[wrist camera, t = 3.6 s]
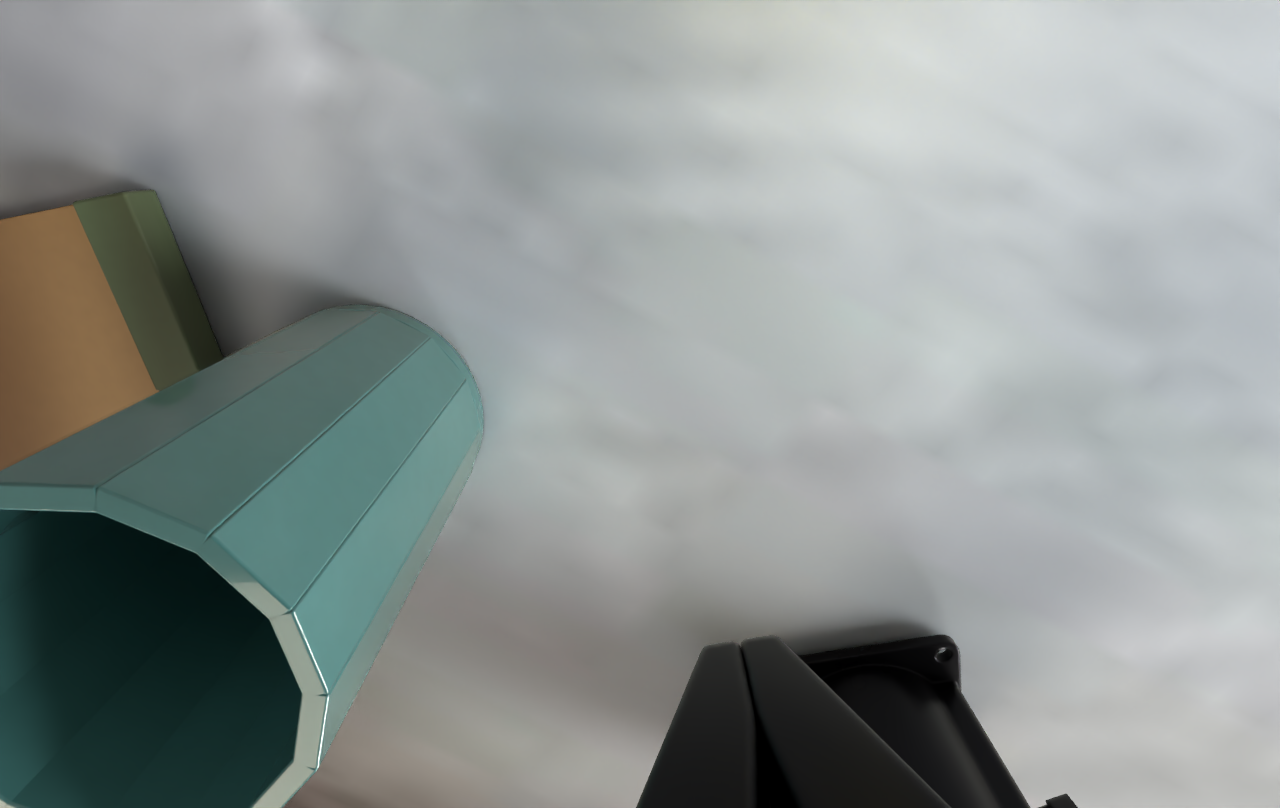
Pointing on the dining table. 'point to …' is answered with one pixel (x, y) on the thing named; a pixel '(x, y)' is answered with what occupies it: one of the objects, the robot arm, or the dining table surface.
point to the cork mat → (91, 316)
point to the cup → (223, 565)
